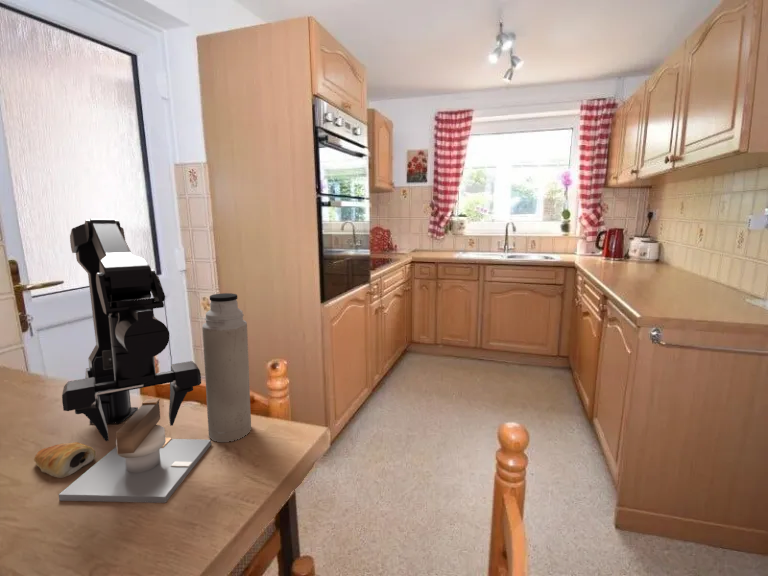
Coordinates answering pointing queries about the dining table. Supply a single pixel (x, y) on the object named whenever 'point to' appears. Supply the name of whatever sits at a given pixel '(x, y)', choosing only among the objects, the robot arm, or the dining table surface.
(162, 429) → the rotary knob
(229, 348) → the thermos bottle
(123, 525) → the dining table surface
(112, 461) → the plate
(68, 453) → the pastry
